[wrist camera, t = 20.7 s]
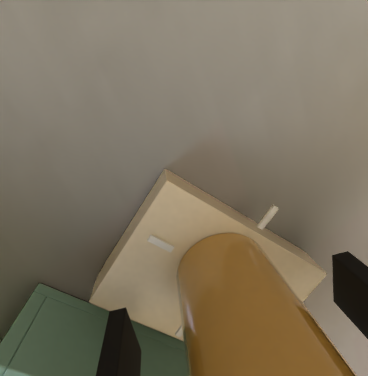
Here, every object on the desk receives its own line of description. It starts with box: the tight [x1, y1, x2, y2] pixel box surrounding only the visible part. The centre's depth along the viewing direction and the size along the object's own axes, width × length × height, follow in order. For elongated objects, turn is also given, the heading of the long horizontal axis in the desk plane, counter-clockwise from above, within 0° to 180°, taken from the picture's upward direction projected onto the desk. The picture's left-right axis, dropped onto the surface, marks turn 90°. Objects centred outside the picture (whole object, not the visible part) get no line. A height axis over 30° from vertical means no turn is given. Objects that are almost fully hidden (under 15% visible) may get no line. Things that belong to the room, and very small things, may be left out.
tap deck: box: [89, 169, 327, 341], centre depth 16 cm, size 11×10×3 cm
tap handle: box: [176, 233, 357, 376], centre depth 10 cm, size 5×5×9 cm
